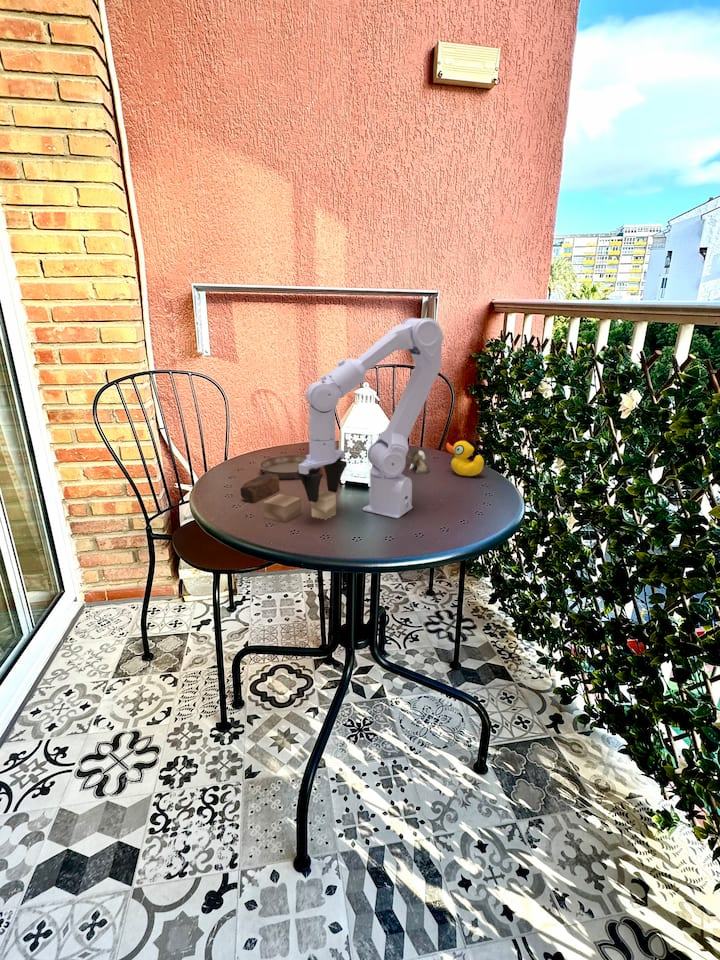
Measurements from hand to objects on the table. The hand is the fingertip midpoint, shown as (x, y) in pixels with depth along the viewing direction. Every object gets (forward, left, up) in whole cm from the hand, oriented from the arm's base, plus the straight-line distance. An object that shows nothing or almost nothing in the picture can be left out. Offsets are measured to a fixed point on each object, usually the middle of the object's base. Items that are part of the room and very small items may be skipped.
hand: (323, 496), depth 111 cm
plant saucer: (+28, -22, -5) cm, 36 cm away
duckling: (-17, -46, -5) cm, 49 cm away
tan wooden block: (+8, +5, -5) cm, 11 cm away
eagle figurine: (-3, -44, -5) cm, 44 cm away
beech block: (0, 0, -5) cm, 5 cm away
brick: (+21, -2, -5) cm, 22 cm away
